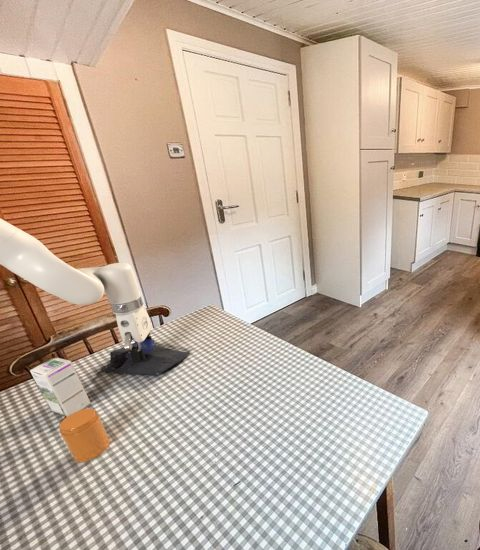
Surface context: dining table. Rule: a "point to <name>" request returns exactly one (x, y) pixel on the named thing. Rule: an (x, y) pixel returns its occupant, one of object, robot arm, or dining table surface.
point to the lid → (146, 345)
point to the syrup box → (60, 386)
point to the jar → (84, 435)
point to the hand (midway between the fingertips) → (144, 353)
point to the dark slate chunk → (152, 365)
